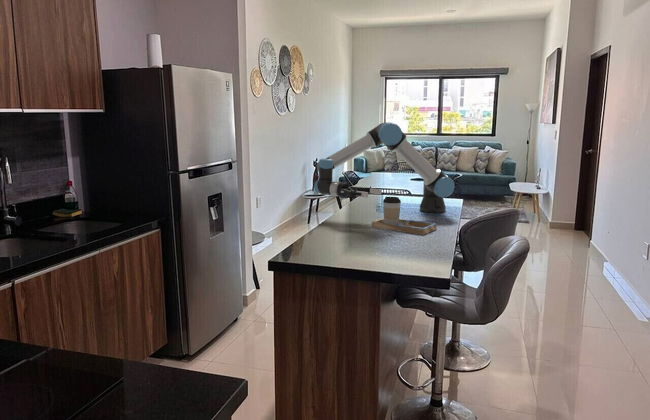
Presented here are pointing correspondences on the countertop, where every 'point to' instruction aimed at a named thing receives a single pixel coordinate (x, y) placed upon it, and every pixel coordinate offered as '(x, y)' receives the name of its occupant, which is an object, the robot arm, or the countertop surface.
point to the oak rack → (407, 226)
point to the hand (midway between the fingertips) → (374, 193)
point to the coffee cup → (391, 210)
